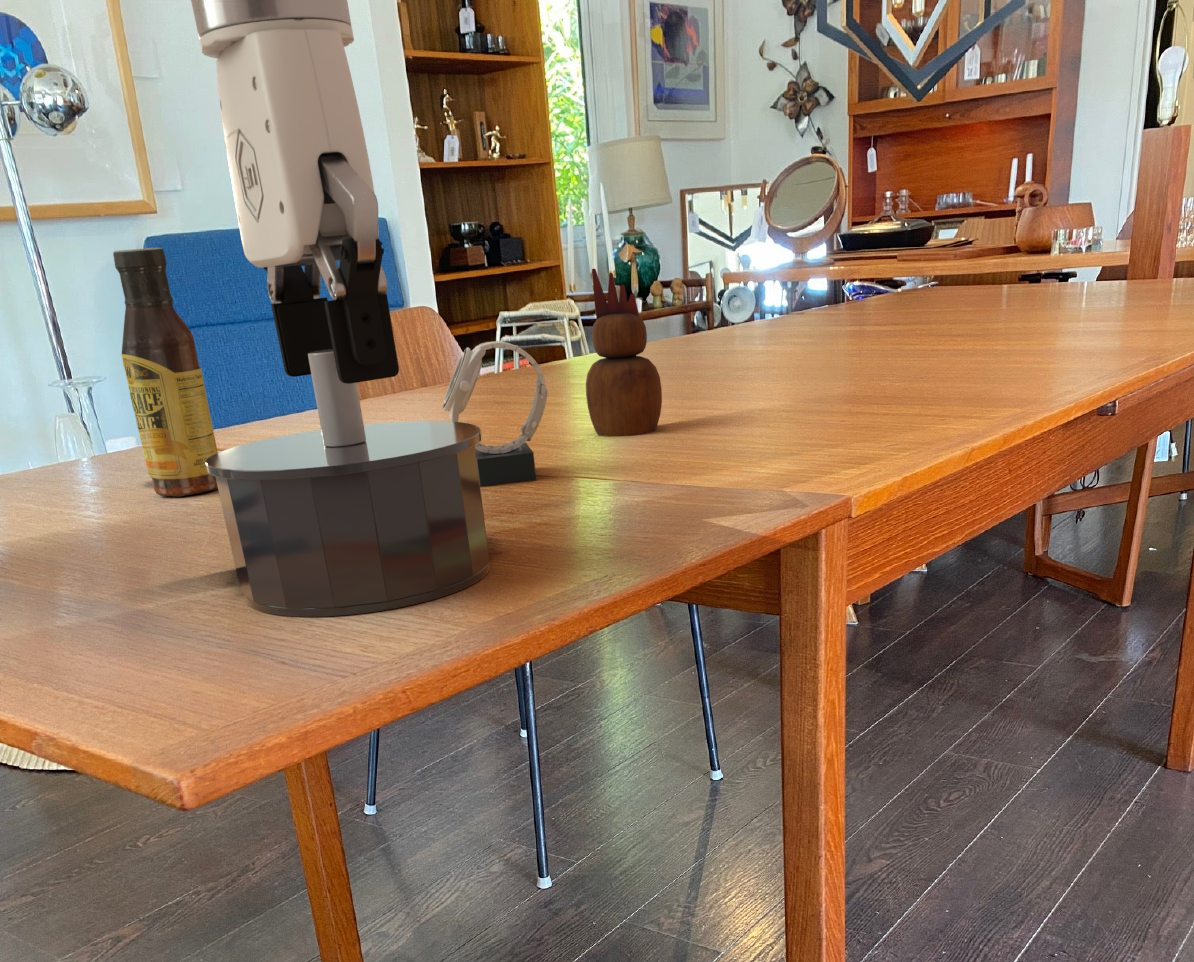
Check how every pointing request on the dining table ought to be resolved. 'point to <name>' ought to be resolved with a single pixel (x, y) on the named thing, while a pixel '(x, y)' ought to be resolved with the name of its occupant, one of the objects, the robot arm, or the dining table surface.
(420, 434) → the lid
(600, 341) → the wooden figurine
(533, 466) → the watch
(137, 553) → the dining table surface
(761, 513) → the dining table surface
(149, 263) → the sauce bottle
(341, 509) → the dark grey round bin
